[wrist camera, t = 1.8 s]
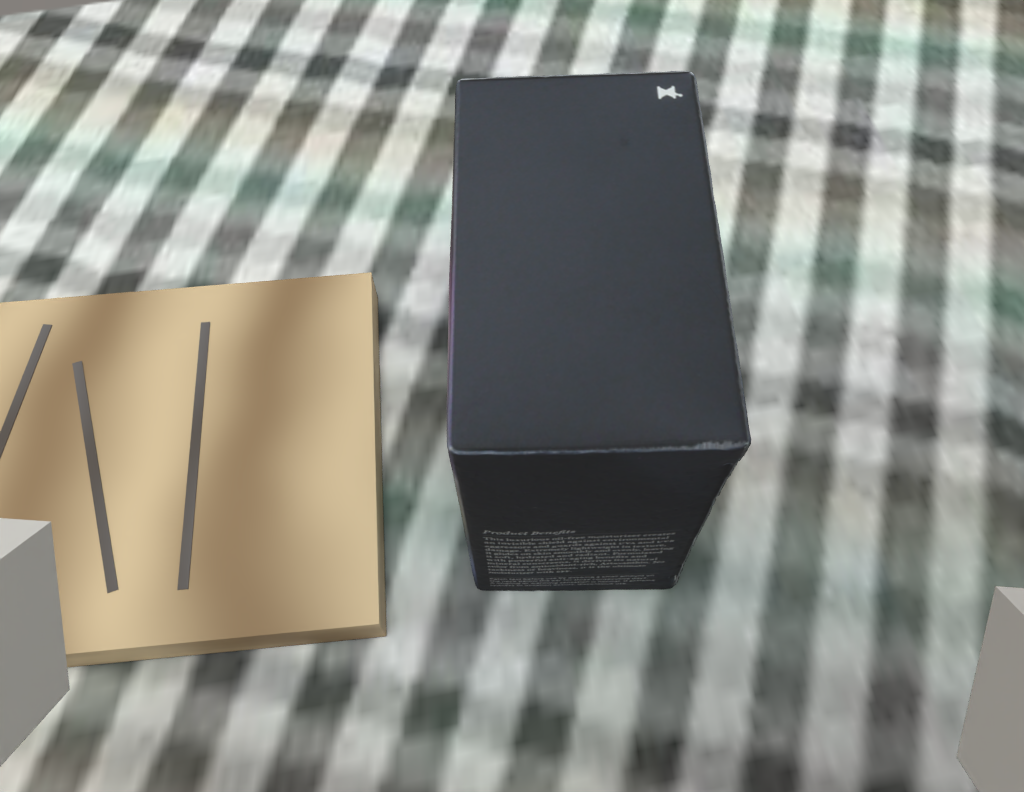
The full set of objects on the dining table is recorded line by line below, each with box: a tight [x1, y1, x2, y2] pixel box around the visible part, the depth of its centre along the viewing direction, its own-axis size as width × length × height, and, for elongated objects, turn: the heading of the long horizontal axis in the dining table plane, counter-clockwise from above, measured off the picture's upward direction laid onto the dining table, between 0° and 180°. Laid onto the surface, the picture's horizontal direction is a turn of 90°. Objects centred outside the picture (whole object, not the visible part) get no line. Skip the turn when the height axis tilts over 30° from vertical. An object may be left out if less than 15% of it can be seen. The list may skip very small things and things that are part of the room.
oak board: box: [0, 273, 386, 667], centre depth 27 cm, size 19×12×2 cm, turn 95°
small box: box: [447, 71, 751, 591], centre depth 24 cm, size 11×6×10 cm, turn 1°
